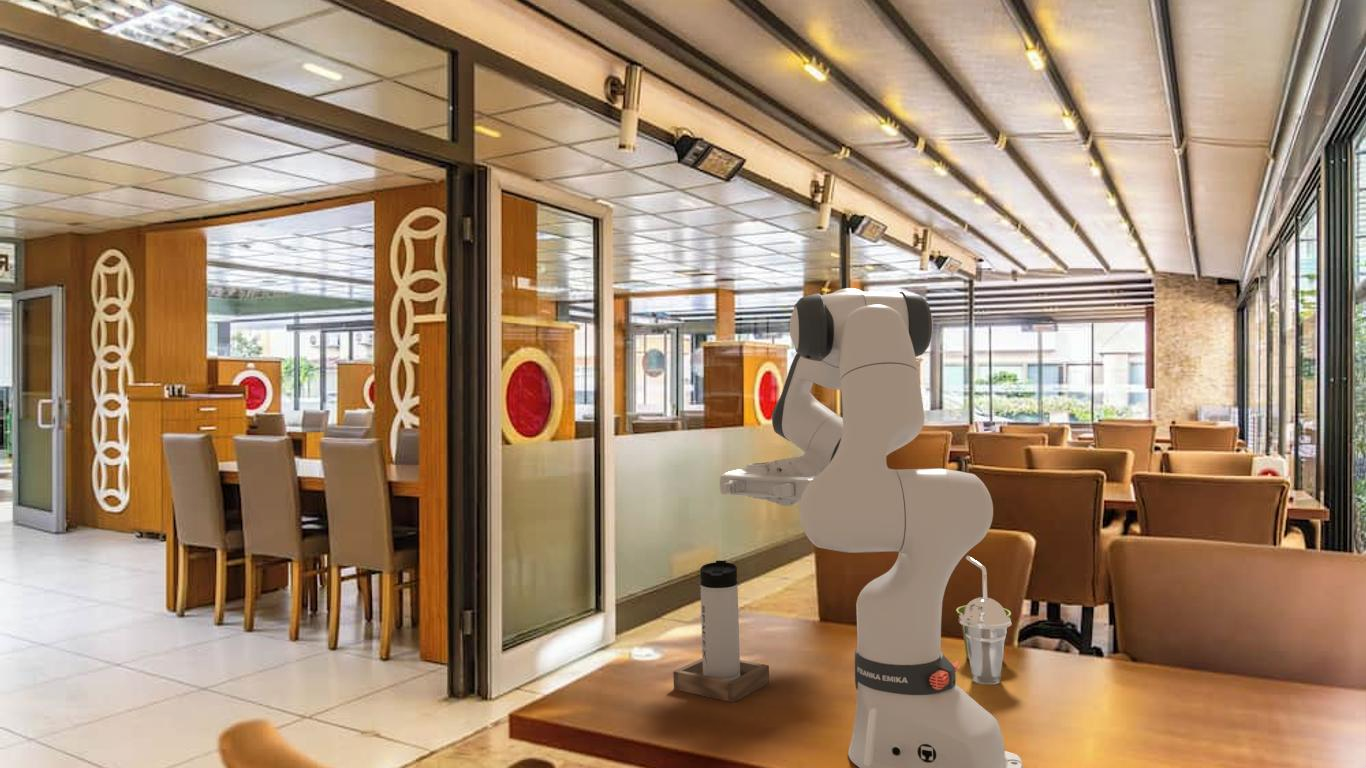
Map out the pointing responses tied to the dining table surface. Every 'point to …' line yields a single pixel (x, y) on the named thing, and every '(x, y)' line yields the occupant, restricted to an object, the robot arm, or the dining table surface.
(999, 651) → the cup with straw
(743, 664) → the open wooden tray
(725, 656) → the travel mug
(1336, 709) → the dining table surface
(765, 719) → the dining table surface
